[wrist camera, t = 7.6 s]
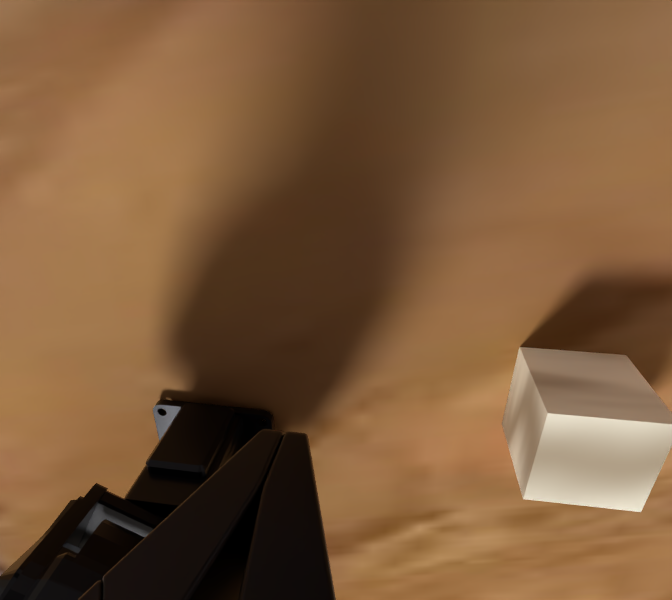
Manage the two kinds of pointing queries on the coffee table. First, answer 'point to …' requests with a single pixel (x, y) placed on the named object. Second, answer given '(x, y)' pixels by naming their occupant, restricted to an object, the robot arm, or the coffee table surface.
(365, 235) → the coffee table surface
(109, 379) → the coffee table surface
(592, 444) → the cream block
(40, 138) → the coffee table surface
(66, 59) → the coffee table surface
